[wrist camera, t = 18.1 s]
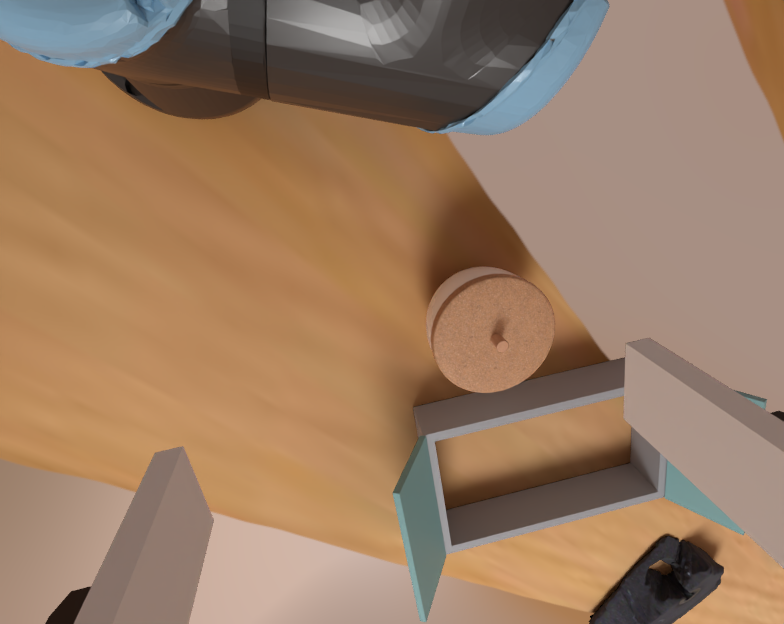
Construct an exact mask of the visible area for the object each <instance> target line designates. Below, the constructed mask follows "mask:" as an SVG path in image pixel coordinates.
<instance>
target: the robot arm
mask: <svg viewBox="0 0 784 624" xmlns="http://www.w3.org/2000/svg"><path fill="white" fill-rule="evenodd" d="M608 9H609V3H608V1H607V0H0V39H1V40H3V41H6V42H8V43H9V44H10V45H11V46H12V47H13V48H15V49H17V50H19V51H20V52H25V53H29V54H30V55H32V56H33V57H35V58H37V59H39V60H42V61H46V62H50V63H52V64H57V65H61V66H73V67H80V68H94V69H97V70H101V71H102V73H103V74H104V75H105V76H106V77H107V78H108V79H109V80H110V81H111V82H113V83H114V84H115V85H116V86H117V87H118V88H120V89H121V90H122V91H124V92H125V93H126V94H128V95H129V96H131V97H132V98H134V99H135V100H137V101H139V102H140V103H142V104H144V105H146V106H148V107H150V108H152V109H155V110H157V111H160V112H163V113H166V114H169V115H173V116H177V117H183V118H192V119H215V118H222V117H226V116H230V115H233V114H236V113H238V112H241V111H243V110H245V109H247V108H248V107H250V106H252V105H253V104H255V103H256V102H257V101H259V100H260V99H261V98H263V99H268V100H271V101H274V102H280V103H285V104H291V105H296V106H302V107H307V108H313V109H318V110H324V111H329V112H335V113H340V114H346V115H351V116H357V117H362V118H368V119H373V120H379V121H384V122H390V123H395V124H401V125H406V126H412V127H417V128H418V129H420V130H422V131H425V132H429V133H435V132H436V133H440V134H442V133H448V132H460V133H469V134H476V135H494V134H500V133H504V132H507V131H509V130H512V129H514V128H516V127H518V126H519V125H521V124H523V123H524V122H526V121H527V120H529V119H530V118H532V117H533V116H534V115H535V114H537V113H538V112H539V111H540V110H541V109H542V108H543V107H544V106H545V105H547V103H548V102H549V101H550V100H551V99H552V98H553V97H554V96H555V95H556V94H557V93H558V91H559V90H560V89H561V88H562V87H563V85H564V84H565V83H566V82H567V80H568V79H569V78H570V76H571V75H572V73H573V72H574V71H575V69H576V68H577V66H578V65H579V63H580V61H581V60H582V58H583V57H584V55H585V53H586V52H587V50H588V49H589V47H590V45H591V43H592V41H593V40H594V38H595V36H596V34H597V32H598V30H599V28H600V26H601V24H602V22H603V20H604V17H605V15H606V13H607V11H608ZM624 420H625V421H626V422H627V423H628V424H630V425H631V426H632V427H633V428H634V429H635V430H636V431H637V432H638V433H639V434H640V435H641V436H642V437H643V438H645V439H646V440H647V441H648V442H649V443H650V444H651V445H652V446H653V447H654V448H655V449H656V450H657V451H658V452H660V453H661V454H662V455H663V456H664V457H665V458H666V459H667V460H668V461H669V462H670V463H671V464H672V465H673V466H675V467H676V468H677V469H678V470H679V471H680V472H681V473H682V474H683V475H684V476H685V477H686V478H687V479H688V480H689V481H691V482H692V483H693V484H694V485H695V486H696V487H697V488H698V489H699V490H700V491H701V492H702V493H703V494H704V495H706V496H707V497H708V498H709V499H710V500H711V501H712V502H713V503H714V504H715V505H716V506H717V507H718V508H719V509H721V510H722V511H723V512H724V513H725V514H726V515H727V516H728V517H729V518H730V519H731V520H732V521H733V522H734V523H736V524H737V525H738V526H739V527H740V528H741V529H742V530H743V531H744V532H745V533H746V534H747V535H748V536H749V537H750V538H752V539H753V540H754V541H755V542H756V543H757V544H758V545H759V546H760V547H761V548H762V549H763V550H764V551H765V552H767V553H768V554H769V555H770V556H771V557H772V558H773V559H774V560H775V561H776V562H777V563H778V564H779V565H780V566H782V567H783V568H784V412H781V411H776V412H772V413H769V412H768V411H766V410H764V409H763V408H761V407H760V406H758V405H756V404H755V403H753V402H752V401H750V400H748V399H747V398H745V397H744V396H742V395H740V394H739V393H737V392H736V391H734V390H732V389H731V388H729V387H728V386H726V385H724V384H723V383H721V382H719V381H718V380H716V379H715V378H713V377H711V376H710V375H708V374H707V373H705V372H703V371H702V370H700V369H699V368H697V367H695V366H694V365H692V364H691V363H689V362H687V361H686V360H684V359H683V358H681V357H679V356H678V355H676V354H675V353H673V352H671V351H670V350H668V349H667V348H665V347H663V346H662V345H660V344H659V343H657V342H655V341H654V340H652V339H651V338H646V339H642V340H638V341H633V342H629V343H626V347H625V384H624ZM213 521H214V520H213V517H212V514H211V512H210V510H209V507H208V505H207V502H206V500H205V498H204V495H203V493H202V490H201V488H200V485H199V483H198V481H197V478H196V476H195V473H194V471H193V469H192V466H191V464H190V461H189V459H188V457H187V454H186V452H185V449H184V447H183V446H182V447H178V448H173V449H169V450H165V451H161V452H156V453H155V454H154V456H153V458H152V460H151V462H150V465H149V467H148V469H147V471H146V473H145V475H144V477H143V479H142V481H141V483H140V486H139V488H138V490H137V492H136V494H135V496H134V498H133V500H132V502H131V505H130V507H129V509H128V511H127V513H126V515H125V517H124V519H123V521H122V523H121V525H120V528H119V530H118V532H117V534H116V536H115V538H114V540H113V542H112V544H111V546H110V549H109V551H108V553H107V555H106V557H105V559H104V561H103V564H102V565H101V567H100V569H99V572H98V574H97V576H96V578H95V580H94V582H93V584H92V586H91V587H87V588H83V589H79V590H75V591H71V592H70V593H69V594H68V596H67V597H66V598H65V599H64V600H63V601H62V603H61V604H60V605H59V606H58V607H57V608H56V609H55V611H54V612H53V613H52V614H51V615H50V616H49V618H48V620H47V622H46V624H188V623H189V619H190V615H191V611H192V607H193V603H194V599H195V595H196V591H197V587H198V583H199V579H200V575H201V571H202V566H203V562H204V558H205V554H206V550H207V546H208V542H209V537H210V534H211V530H212V526H213Z"/></svg>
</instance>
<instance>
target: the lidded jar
mask: <svg viewBox="0 0 784 624" xmlns="http://www.w3.org/2000/svg"><path fill="white" fill-rule="evenodd" d="M426 331H427V337H428V341H429V345H430V348H431V350H432V352H433V356H434V359H435V361H436V363H437V365H438V367H439V369H440V370H441V372H442V373H443V374H444V376H445V377H446V378H447V379H448V380H449V381H451V382H452V383H453V384H455V385H456V386H458V387H460V388H463V389H465V390H468V391H472V392H479V393H492V392H498V391H503V390H506V389H508V388H511V387H513V386H515V385H518V384H520V383H521V382H522V381H524V380H525V379H527V378H528V377H529V376H531V375H532V374H533V373H534V372H535V371H536V370H537V369H538V368H539V367H540V365H541V364H542V363H543V361H544V360H545V358H546V357H547V355H548V353H549V350H550V348H551V345H552V343H553V339H554V333H555V319H554V313H553V310H552V307H551V304H550V303H549V301H548V299H547V297H546V296H545V295H544V294H543V293H542V291H541V290H539V289H538V288H537V287H536V286H535V285H533V284H532V283H530V282H528V281H527V280H525V279H523V278H520V277H519V276H517V275H515V274H513V273H511V272H508V271H506V270H503V269H500V268H494V267H473V268H469V269H465V270H462V271H460V272H458V273H456V274H454V275H452V276H451V277H449V278H448V279H447V280H446V281H445V282H443V283H442V284H441V285H440V287H439V288H438V289H437V290H436V292H435V294H434V295H433V297H432V299H431V301H430V304H429V306H428V310H427V315H426Z"/></svg>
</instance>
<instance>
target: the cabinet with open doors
mask: <svg viewBox="0 0 784 624" xmlns="http://www.w3.org/2000/svg"><path fill="white" fill-rule="evenodd" d="M624 384H625V358H620V359H616V360H612V361H607V362H603V363H599V364H595V365H590V366H586V367H582V368H578V369H573V370H569V371H565V372H561V373H556V374H552V375H548V376H544V377H539V378H535V379H531V380H527V381H522V382H521V383H520V384H518V385H515V386H513V387H511V388H508V389H506V390H503V391H498V392H492V393H479V392H476V393H471V394H467V395H463V396H459V397H454V398H450V399H446V400H442V401H437V402H433V403H429V404H425V405H420V406H416V407H413V411H414V416H415V422H416V427H417V433H418V441H417V443H416V445H415V447H414V449H413V451H412V453H411V455H410V458H409V460H408V462H407V464H406V466H405V468H404V470H403V472H402V474H401V476H400V479H399V481H398V483H397V485H396V487H395V489H394V491H393V497H394V501H395V506H396V511H397V515H398V520H399V525H400V529H401V534H402V539H403V543H404V548H405V553H406V557H407V562H408V567H409V571H410V576H411V580H412V585H413V590H414V594H415V599H416V604H417V608H418V613H419V617H420V621H422V622H426V621H427V618H428V615H429V611H430V608H431V605H432V601H433V598H434V595H435V592H436V588H437V585H438V582H439V578H440V575H441V572H442V568H443V565H444V562H445V558H446V554H450V553H454V552H458V551H461V550H465V549H469V548H473V547H477V546H480V545H484V544H488V543H492V542H496V541H499V540H503V539H507V538H511V537H514V536H518V535H522V534H526V533H530V532H533V531H537V530H541V529H545V528H549V527H552V526H556V525H560V524H564V523H568V522H571V521H575V520H579V519H583V518H586V517H590V516H594V515H598V514H602V513H605V512H609V511H613V510H617V509H621V508H624V507H628V506H632V505H636V504H640V503H643V502H647V501H651V500H655V499H659V498H662V497H665V498H666V499H668V500H670V501H672V502H674V503H676V504H678V505H680V506H682V507H685V508H687V509H689V510H691V511H693V512H695V513H697V514H699V515H701V516H704V517H706V518H708V519H710V520H712V521H714V522H716V523H718V524H721V525H723V526H725V527H727V528H729V529H731V530H733V531H735V532H737V533H740V534H742V535H744V533H745V532H744V531H743V530H742V529H741V528H740V527H739V526H738V525H737V524H736V523H734V522H733V521H732V520H731V519H730V518H729V517H728V516H727V515H726V514H725V513H724V512H723V511H722V510H721V509H719V508H718V507H717V506H716V505H715V504H714V503H713V502H712V501H711V500H710V499H709V498H708V497H707V496H706V495H704V494H703V493H702V492H701V491H700V490H699V489H698V488H697V487H696V486H695V485H694V484H693V483H692V482H691V481H689V480H688V479H687V478H686V477H685V476H684V475H683V474H682V473H681V472H680V471H679V470H678V469H677V468H676V467H675V466H673V465H672V464H671V463H670V462H669V461H668V460H667V459H666V458H665V457H664V456H663V455H662V454H661V453H660V452H658V451H657V450H656V449H655V448H654V447H653V446H652V445H651V444H650V443H649V442H648V441H647V440H646V439H645V438H643V437H642V436H641V435H640V434H639V433H638V432H637V431H636V430H635V429H634V428H633V427H632V430H631V459H630V463H628V464H624V465H621V466H617V467H613V468H609V469H605V470H601V471H597V472H593V473H589V474H585V475H581V476H578V477H574V478H570V479H566V480H562V481H558V482H554V483H550V484H546V485H542V486H538V487H535V488H531V489H527V490H523V491H519V492H515V493H511V494H507V495H503V496H499V497H495V498H491V499H488V500H484V501H480V502H476V503H472V504H468V505H464V506H460V507H456V508H452V509H448V510H446V508H445V502H444V496H443V490H442V484H441V477H440V471H439V465H438V459H437V453H436V446H435V441H439V440H443V439H448V438H452V437H456V436H460V435H464V434H468V433H472V432H476V431H481V430H485V429H489V428H493V427H497V426H501V425H505V424H509V423H513V422H518V421H522V420H526V419H530V418H534V417H538V416H542V415H546V414H551V413H555V412H559V411H563V410H567V409H571V408H575V407H579V406H584V405H588V404H592V403H596V402H600V401H604V400H608V399H612V398H616V397H621V396H624ZM734 391H735V390H734ZM736 392H737V393H739V394H740V395H742V396H744V397H745V398H747V399H748V400H750V401H752V402H753V403H755V404H756V405H758V406H760V407H761V408H763V409H764V410H765V407H766V401H767V399H764V398H760V397H756V396H753V395H750V394H746V393H743V392H739V391H736Z"/></svg>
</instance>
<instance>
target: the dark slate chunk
mask: <svg viewBox="0 0 784 624" xmlns="http://www.w3.org/2000/svg"><path fill="white" fill-rule="evenodd" d="M679 544H680V545H679ZM655 545H656V547H655V548H654V549H653V550H652V551H651V552H650V553H649V554H647V555H646V556H645V557H643V558H642V559H641V560H640V561H639V562H638V563H637V564H636V565H635V567H634V568H633V570H631V571H630V572H629V573H628V575H627V576H626V577H624V579H623V581H622V583H621V585H620V587H619V588H618V589H617V590H616V591H614V592H613V593H612V594H611V596H610V598H608V599H606V600H605V602H604V604H603V605H602V606H601V607H600V609H599V610H598V611H596V612H595V613H594V614H593V615H591V616H590V618H591V620H590V621H589V622H590V623H589V624H672V623H674V622H675V621H676V620H677V619H678V618H681V617H682V616H683V615H685V614H686V613H687V612H688V611H689V610H691V609H692V608H693V607H694V606H696V605H697V604H698V603H700V602H701V601H702V600H703V599H705V598H706V597H707V596H708V595H709V594H710V593H711V592H713V591H714V590H715V589H717V587H718V585H719V584H720V583H721V576H722V574H723V573H724V567H723V566H721V565H719V564H717V563H716V562H715V561H714V560H713V559H712V558H711V557H710V556H709V555H708V554H707V553H706V552H705V551H703V550H702V549H701V548H699V547H697V546H695V545H693V544H692V543H690V542H685V541H684V540H682V541H681V542H679V539H677V538H675V539H674V538H671V537H670V536H667V537H663V538H661V539H660V541H658V542H657V543H656V544H655ZM659 560H662V561H664V562H665V563H667V564H670V565H671V566H672V569H673V571H672V572H671V573H669V574H667V575H662V574H661V573H660V572H659V571H656V570H653V569H648V568H649V566H650V565H652V564H654V563H656V562H657V561H659Z"/></svg>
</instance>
